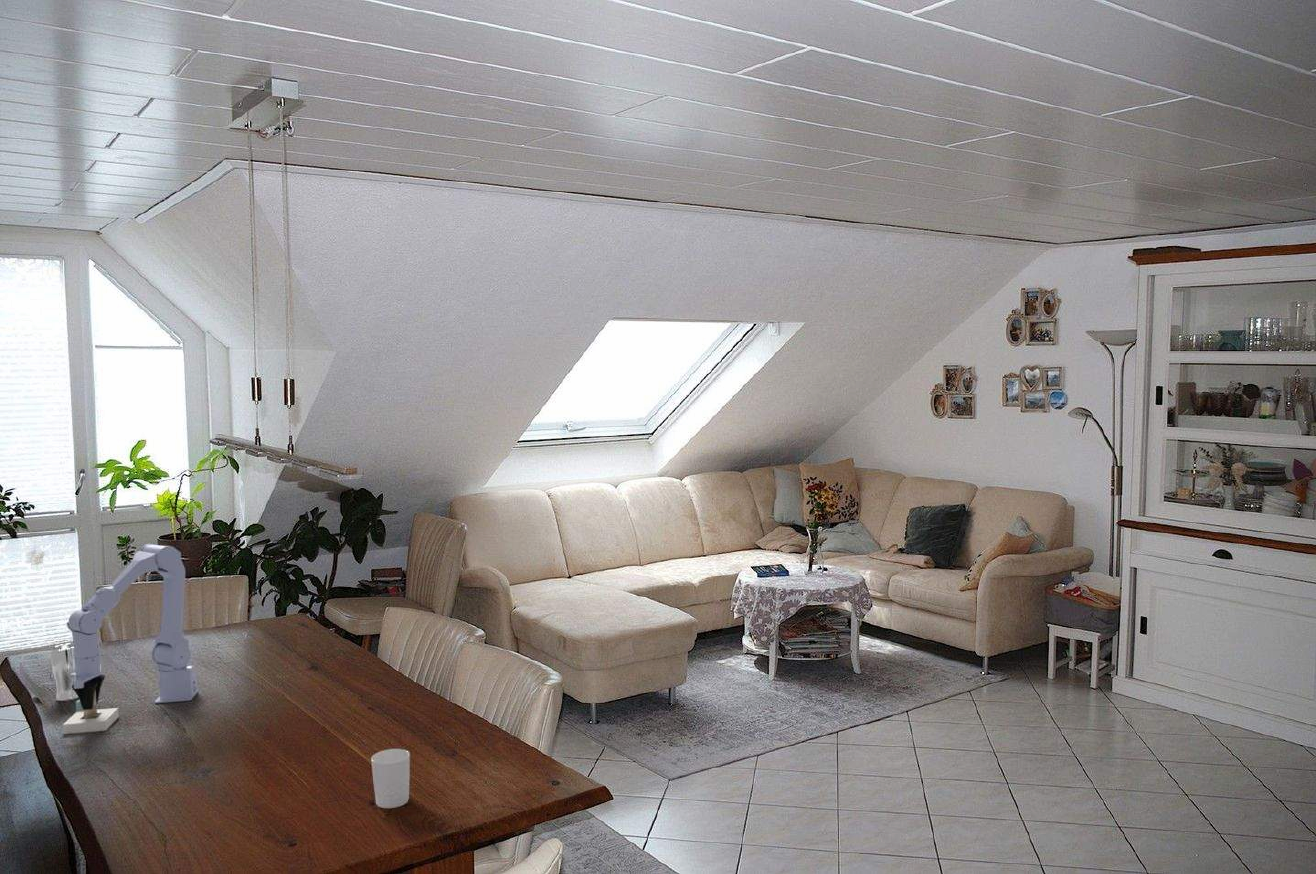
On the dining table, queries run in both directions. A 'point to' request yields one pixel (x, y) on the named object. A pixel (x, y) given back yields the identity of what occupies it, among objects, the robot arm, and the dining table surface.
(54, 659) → the beer glass
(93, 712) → the long beech pin
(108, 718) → the collar block
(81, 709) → the short teal pin
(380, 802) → the white cup
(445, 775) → the dining table surface
